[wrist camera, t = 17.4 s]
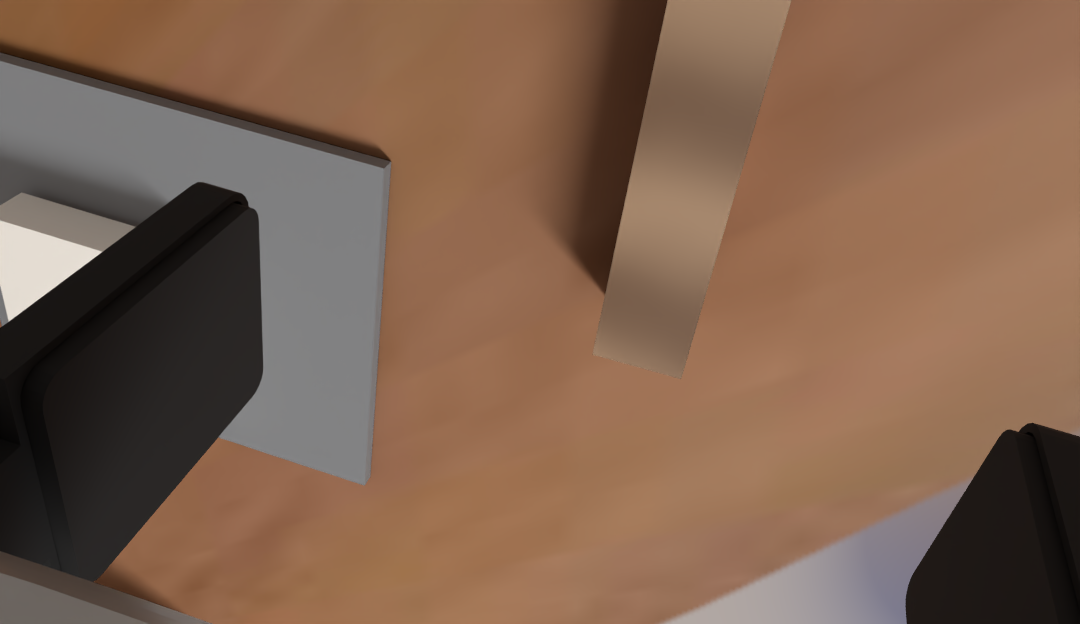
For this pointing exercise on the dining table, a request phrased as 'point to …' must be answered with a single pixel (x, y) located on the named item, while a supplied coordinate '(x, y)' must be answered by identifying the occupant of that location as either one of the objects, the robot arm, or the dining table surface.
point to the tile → (47, 246)
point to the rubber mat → (284, 231)
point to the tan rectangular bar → (685, 175)
